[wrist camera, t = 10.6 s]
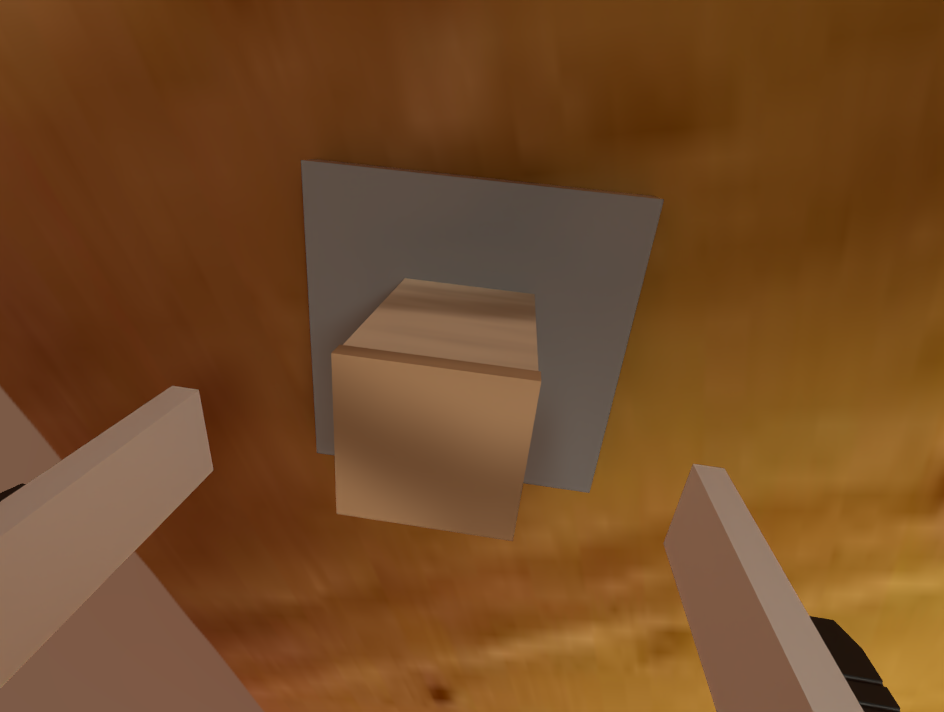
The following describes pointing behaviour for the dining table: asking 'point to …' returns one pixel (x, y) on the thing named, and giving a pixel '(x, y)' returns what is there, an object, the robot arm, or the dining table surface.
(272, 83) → the dining table surface
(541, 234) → the slate board
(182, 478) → the robot arm
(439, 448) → the oak block
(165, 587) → the dining table surface
